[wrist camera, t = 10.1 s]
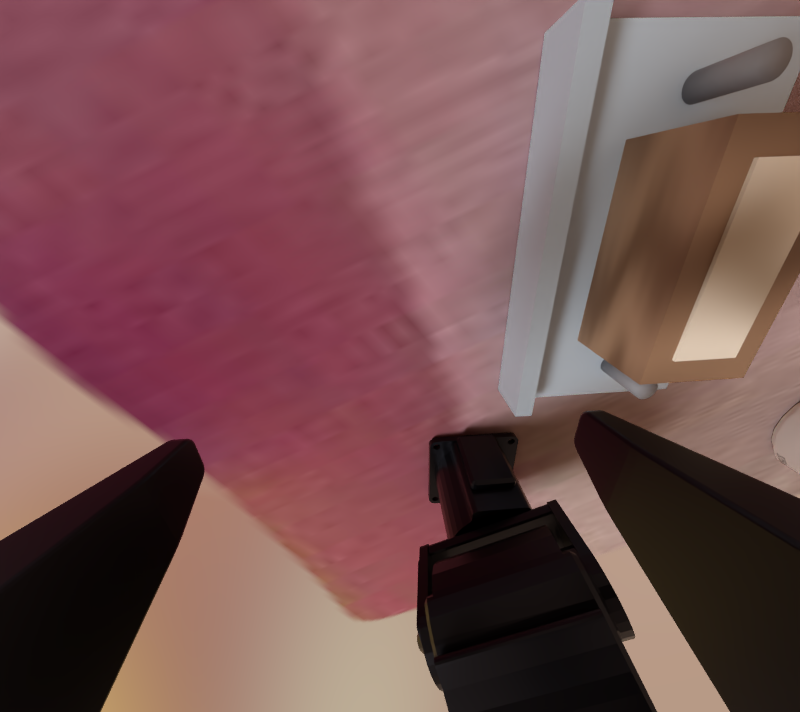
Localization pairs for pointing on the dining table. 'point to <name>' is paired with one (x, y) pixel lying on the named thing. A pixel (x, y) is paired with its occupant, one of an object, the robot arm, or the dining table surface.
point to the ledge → (614, 163)
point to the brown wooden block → (697, 249)
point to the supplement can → (788, 439)
